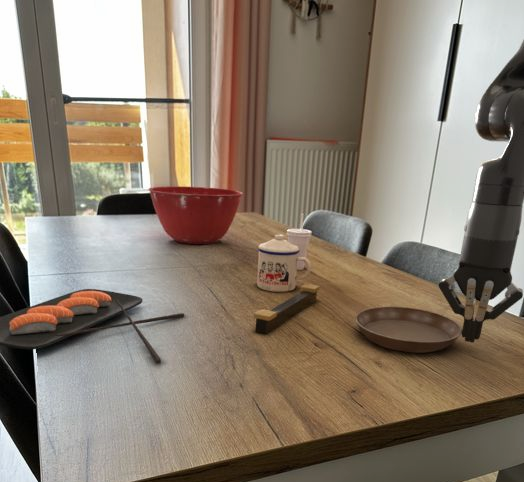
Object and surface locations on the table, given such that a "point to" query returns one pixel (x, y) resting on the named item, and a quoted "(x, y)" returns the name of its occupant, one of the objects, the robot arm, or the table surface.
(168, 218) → the mixing bowl
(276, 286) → the teacup with lid
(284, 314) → the rail
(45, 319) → the sushi plate
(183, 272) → the table surface
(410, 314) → the plant saucer
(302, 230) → the smoothie
